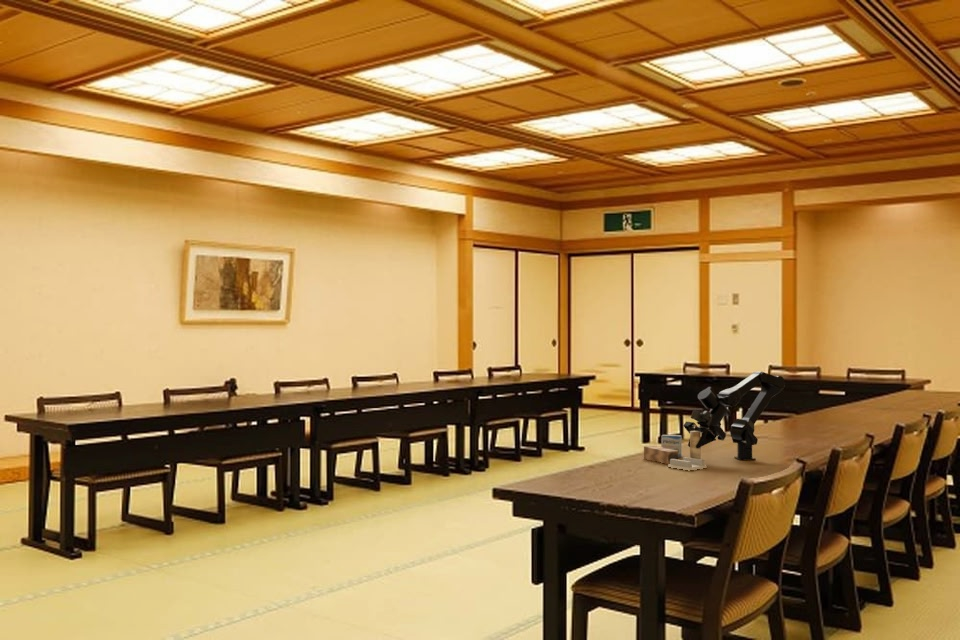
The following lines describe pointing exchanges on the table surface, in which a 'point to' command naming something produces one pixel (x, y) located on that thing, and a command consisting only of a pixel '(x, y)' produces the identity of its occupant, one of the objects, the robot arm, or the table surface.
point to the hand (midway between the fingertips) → (692, 447)
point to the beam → (660, 454)
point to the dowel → (694, 440)
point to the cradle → (687, 464)
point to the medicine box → (672, 443)
